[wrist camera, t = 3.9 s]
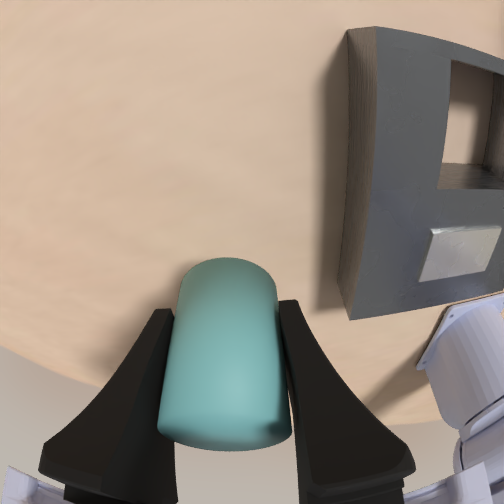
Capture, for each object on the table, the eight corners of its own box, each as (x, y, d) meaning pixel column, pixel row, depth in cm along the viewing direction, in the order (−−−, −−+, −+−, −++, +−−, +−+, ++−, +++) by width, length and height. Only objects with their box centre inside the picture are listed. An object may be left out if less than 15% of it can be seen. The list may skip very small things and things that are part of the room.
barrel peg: (278, 321, 14) (290, 447, 9) (192, 327, 14) (179, 450, 9) (274, 253, 11) (293, 407, 7) (169, 262, 11) (135, 408, 7)
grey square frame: (482, 262, 18) (503, 292, 15) (337, 282, 18) (350, 323, 16) (526, 74, 9) (564, 89, 7) (347, 29, 9) (378, 26, 7)
